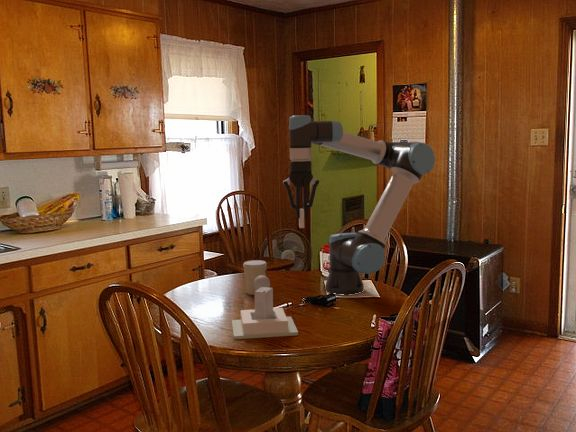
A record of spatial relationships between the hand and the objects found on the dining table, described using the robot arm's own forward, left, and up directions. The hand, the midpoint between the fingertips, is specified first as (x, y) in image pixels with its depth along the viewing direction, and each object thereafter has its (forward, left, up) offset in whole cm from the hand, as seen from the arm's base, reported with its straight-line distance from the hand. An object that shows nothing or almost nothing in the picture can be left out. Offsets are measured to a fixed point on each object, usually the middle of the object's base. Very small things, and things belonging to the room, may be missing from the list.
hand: (301, 227), depth 207 cm
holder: (+16, +20, -29) cm, 39 cm away
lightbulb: (+14, -7, -30) cm, 33 cm away
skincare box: (+16, +20, -29) cm, 38 cm away
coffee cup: (+15, -25, -30) cm, 42 cm away
